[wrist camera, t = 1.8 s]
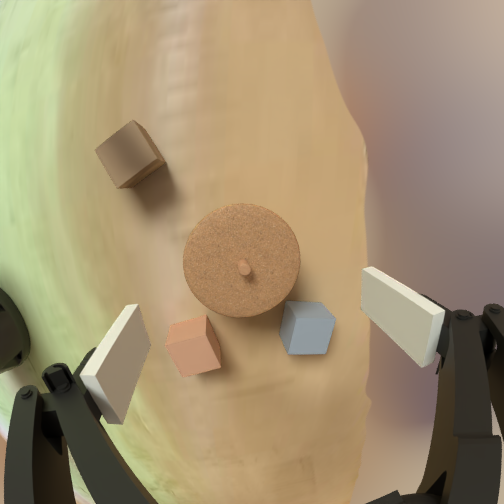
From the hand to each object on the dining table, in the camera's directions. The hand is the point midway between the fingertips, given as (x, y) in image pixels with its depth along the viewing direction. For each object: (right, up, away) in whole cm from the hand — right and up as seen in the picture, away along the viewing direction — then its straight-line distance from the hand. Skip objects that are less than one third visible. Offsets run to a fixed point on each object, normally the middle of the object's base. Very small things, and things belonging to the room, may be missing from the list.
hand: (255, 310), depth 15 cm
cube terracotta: (-8, -8, +19) cm, 22 cm away
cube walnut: (-13, +14, +13) cm, 23 cm away
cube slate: (+6, -6, +20) cm, 22 cm away
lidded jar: (-2, +4, +17) cm, 18 cm away
